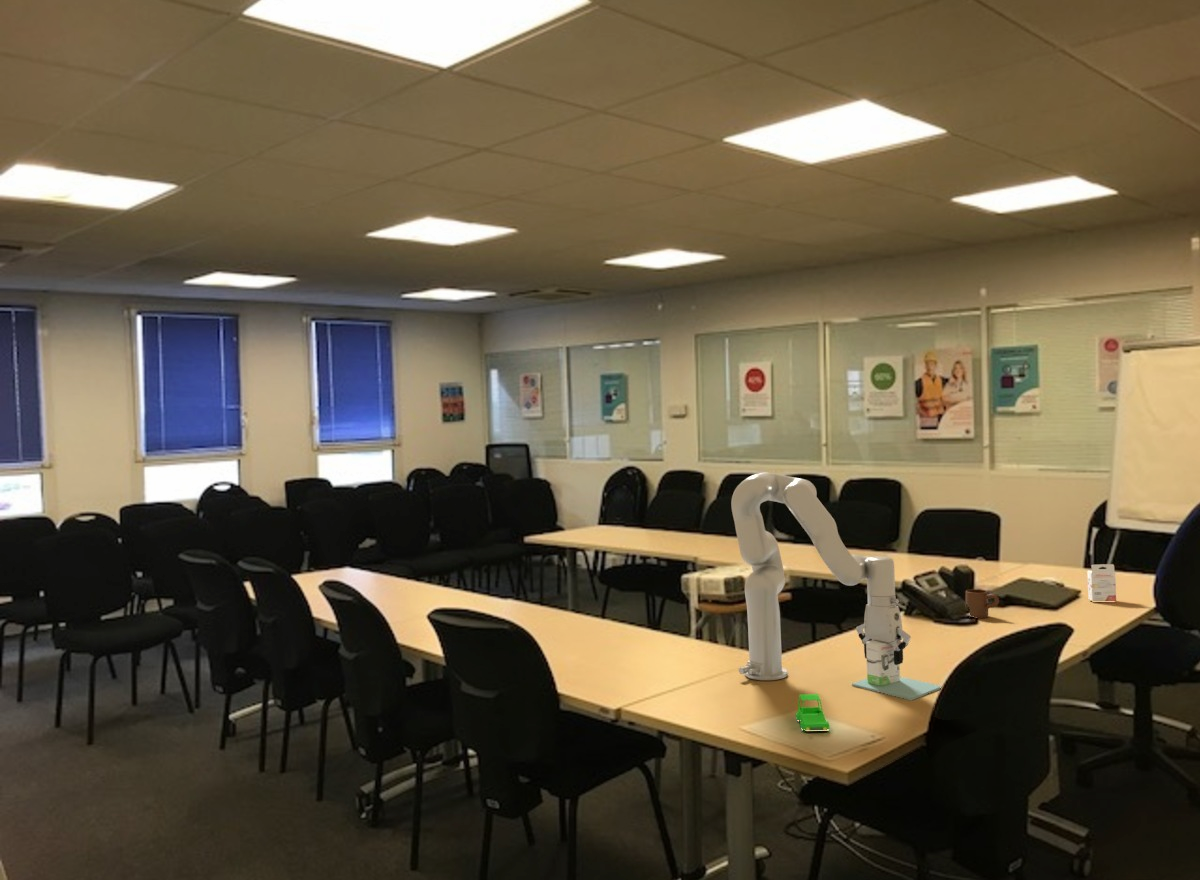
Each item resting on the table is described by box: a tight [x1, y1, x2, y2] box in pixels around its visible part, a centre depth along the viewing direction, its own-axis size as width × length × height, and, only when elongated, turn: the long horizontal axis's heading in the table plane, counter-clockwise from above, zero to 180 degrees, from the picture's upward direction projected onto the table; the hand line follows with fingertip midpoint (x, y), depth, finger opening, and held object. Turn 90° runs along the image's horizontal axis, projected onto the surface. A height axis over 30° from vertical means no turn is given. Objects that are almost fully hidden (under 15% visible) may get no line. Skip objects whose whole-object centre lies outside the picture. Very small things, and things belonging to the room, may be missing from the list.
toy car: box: [795, 693, 831, 730], centre depth 230 cm, size 11×7×7 cm, turn 177°
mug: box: [965, 588, 1000, 619], centre depth 335 cm, size 12×8×9 cm, turn 40°
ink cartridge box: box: [1086, 563, 1117, 602], centre depth 352 cm, size 9×5×15 cm, turn 80°
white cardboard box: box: [866, 640, 901, 686], centre depth 261 cm, size 9×5×12 cm, turn 122°
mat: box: [851, 676, 942, 701], centre depth 258 cm, size 15×19×1 cm
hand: (883, 660), depth 261 cm, fingers open, 9 cm apart
